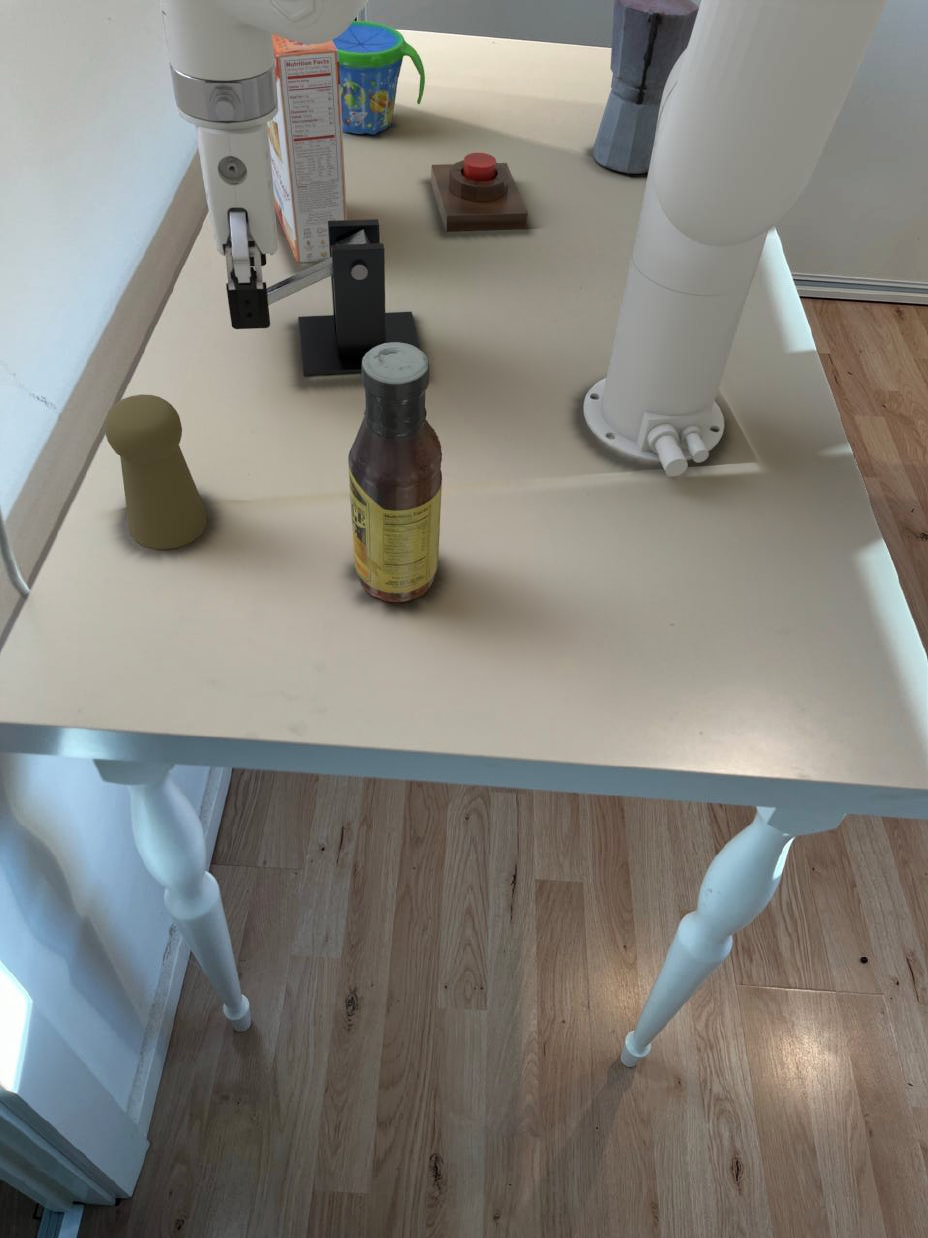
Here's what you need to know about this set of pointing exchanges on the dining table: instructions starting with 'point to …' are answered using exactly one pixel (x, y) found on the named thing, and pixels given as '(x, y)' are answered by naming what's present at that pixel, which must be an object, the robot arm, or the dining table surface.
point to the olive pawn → (155, 473)
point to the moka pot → (640, 78)
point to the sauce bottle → (395, 477)
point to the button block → (477, 200)
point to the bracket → (353, 307)
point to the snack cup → (371, 75)
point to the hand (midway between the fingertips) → (250, 294)
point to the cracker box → (307, 145)
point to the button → (479, 167)
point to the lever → (310, 272)
